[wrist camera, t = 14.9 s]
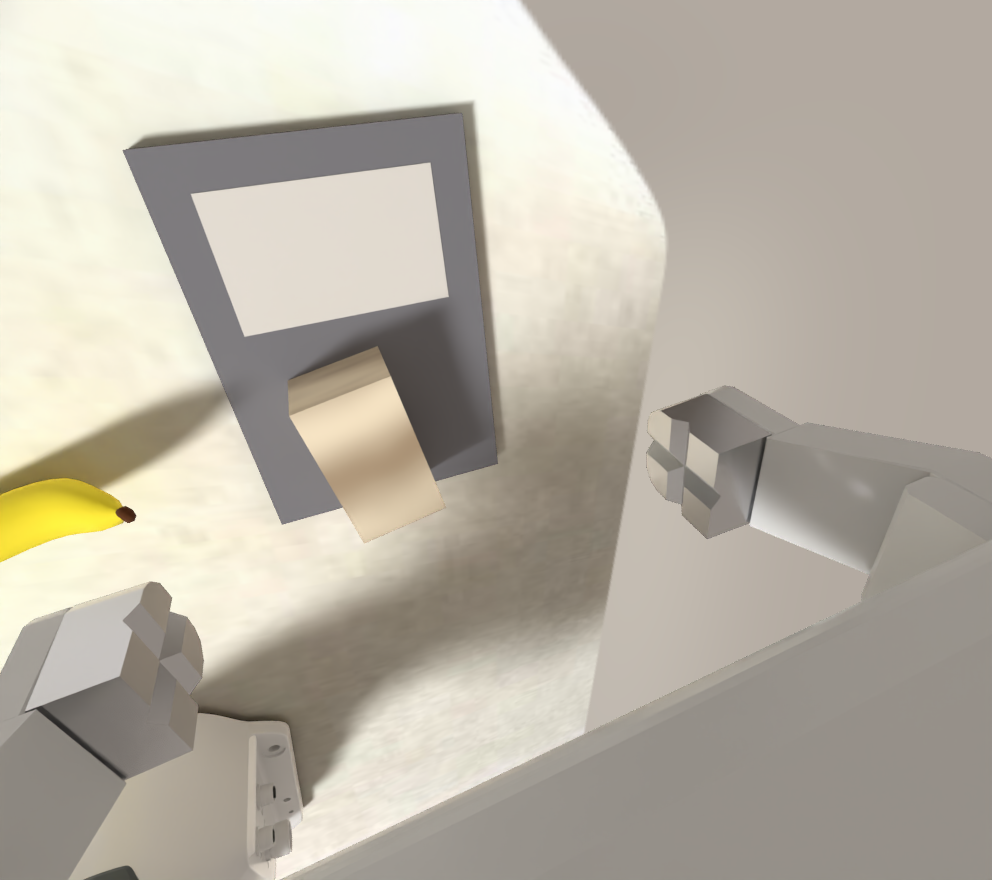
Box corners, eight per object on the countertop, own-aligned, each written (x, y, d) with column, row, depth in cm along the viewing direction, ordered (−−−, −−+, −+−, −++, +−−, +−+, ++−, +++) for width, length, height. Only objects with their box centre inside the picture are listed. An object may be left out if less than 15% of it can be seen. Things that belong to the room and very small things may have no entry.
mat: (493, 457, 35) (497, 464, 35) (281, 516, 32) (282, 525, 31) (457, 113, 24) (462, 112, 24) (127, 149, 21) (122, 150, 20)
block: (429, 469, 33) (446, 507, 30) (355, 501, 32) (364, 543, 29) (377, 346, 28) (390, 376, 25) (287, 380, 27) (289, 416, 24)
